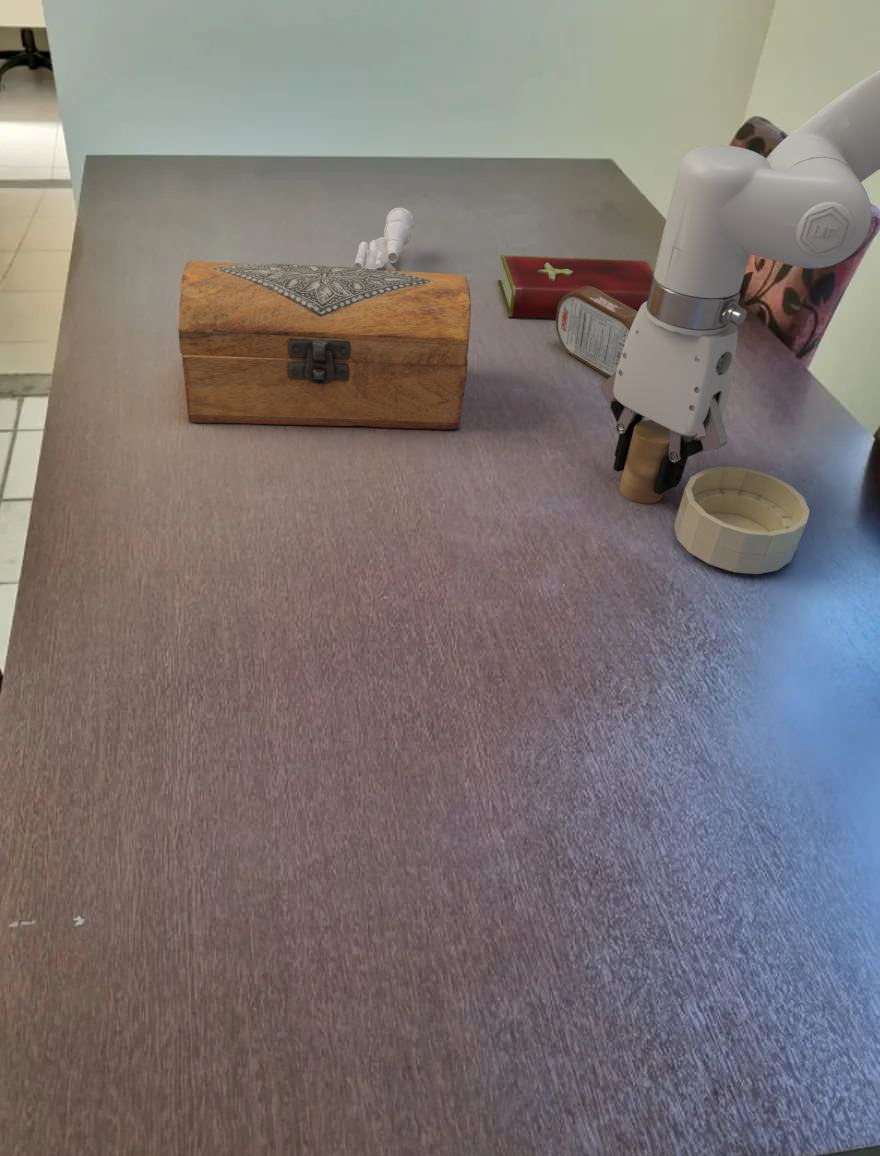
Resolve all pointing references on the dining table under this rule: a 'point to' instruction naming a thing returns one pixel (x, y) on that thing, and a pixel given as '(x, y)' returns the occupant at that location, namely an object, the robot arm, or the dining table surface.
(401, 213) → the toy cannon
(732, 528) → the bowl
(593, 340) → the tin
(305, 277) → the wooden box
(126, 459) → the dining table surface
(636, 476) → the wooden cylinder
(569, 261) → the hardcover book
